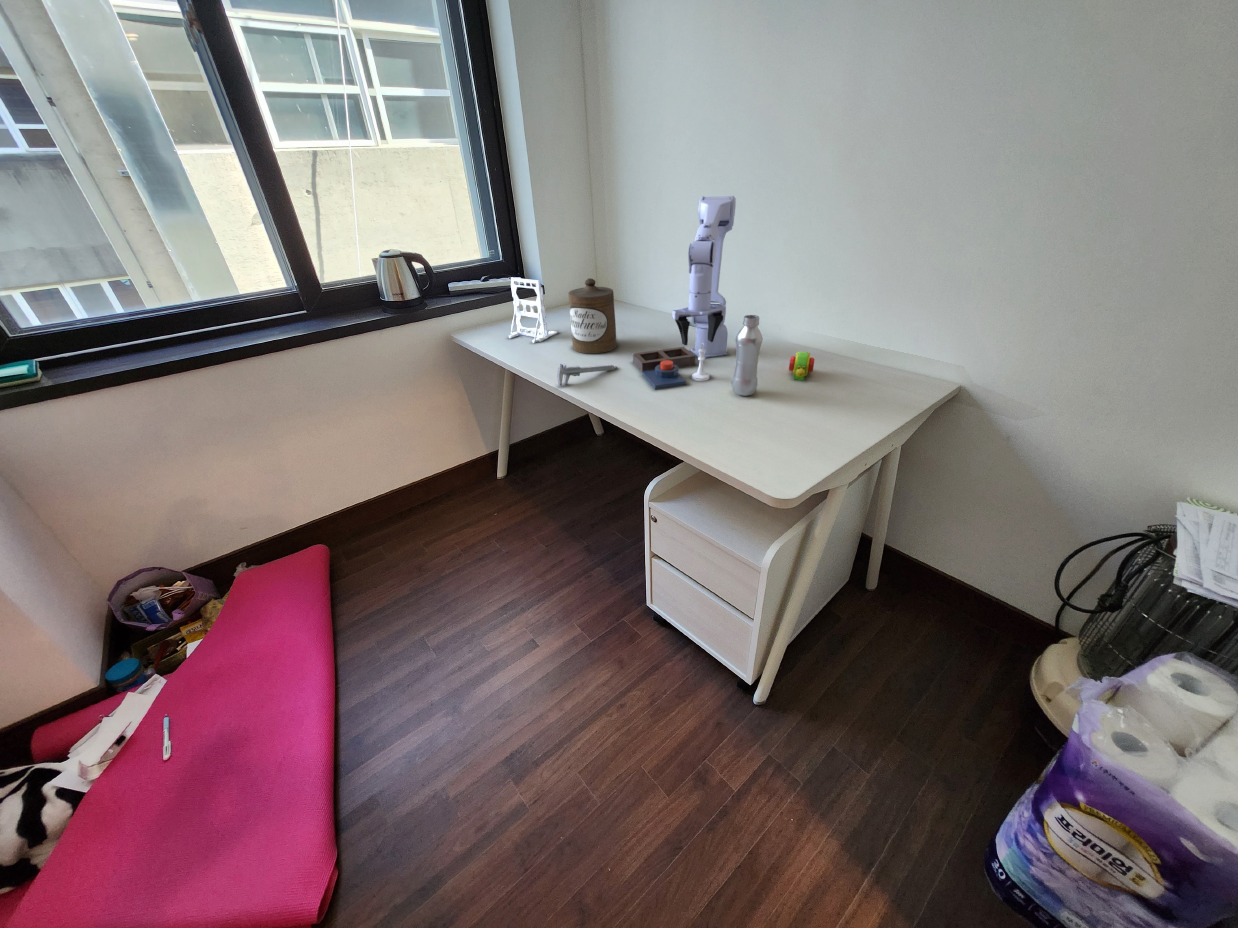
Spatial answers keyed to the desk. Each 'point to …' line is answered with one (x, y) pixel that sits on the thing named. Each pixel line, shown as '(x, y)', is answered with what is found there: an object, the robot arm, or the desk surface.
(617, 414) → the desk surface
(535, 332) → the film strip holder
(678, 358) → the holder
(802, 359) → the green wheeled toy
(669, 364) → the station button
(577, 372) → the caliper
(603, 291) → the wooden container
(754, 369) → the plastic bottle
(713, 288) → the robot arm
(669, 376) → the station
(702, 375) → the chess piece
